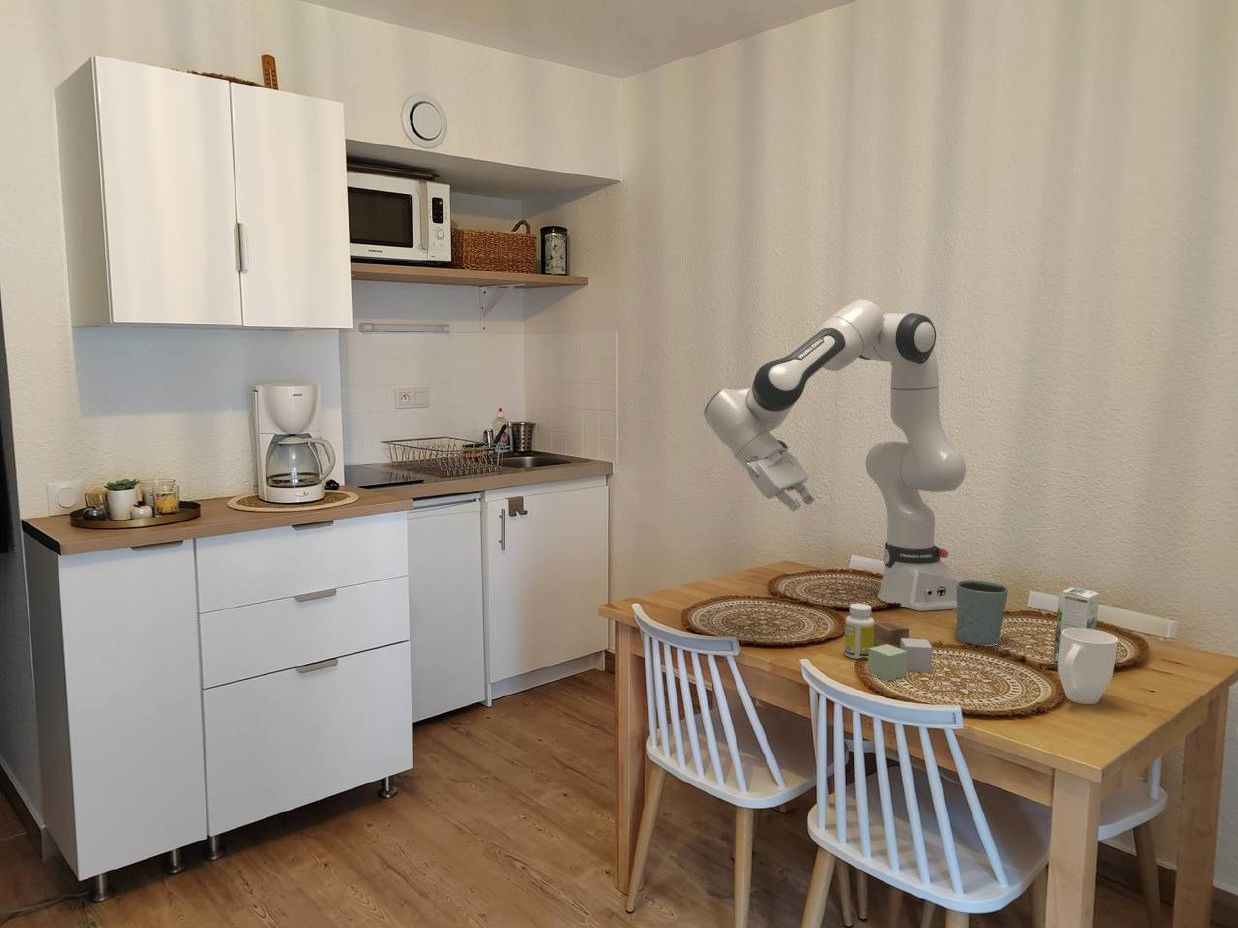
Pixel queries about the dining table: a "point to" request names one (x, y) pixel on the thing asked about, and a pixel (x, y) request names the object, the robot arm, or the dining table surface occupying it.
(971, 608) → the teal plant pot
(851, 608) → the supplement bottle
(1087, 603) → the syrup box
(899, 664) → the sage cube
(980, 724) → the dining table surface
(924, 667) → the grey painted cube
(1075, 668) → the mug
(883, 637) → the walnut cube
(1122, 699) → the dining table surface
